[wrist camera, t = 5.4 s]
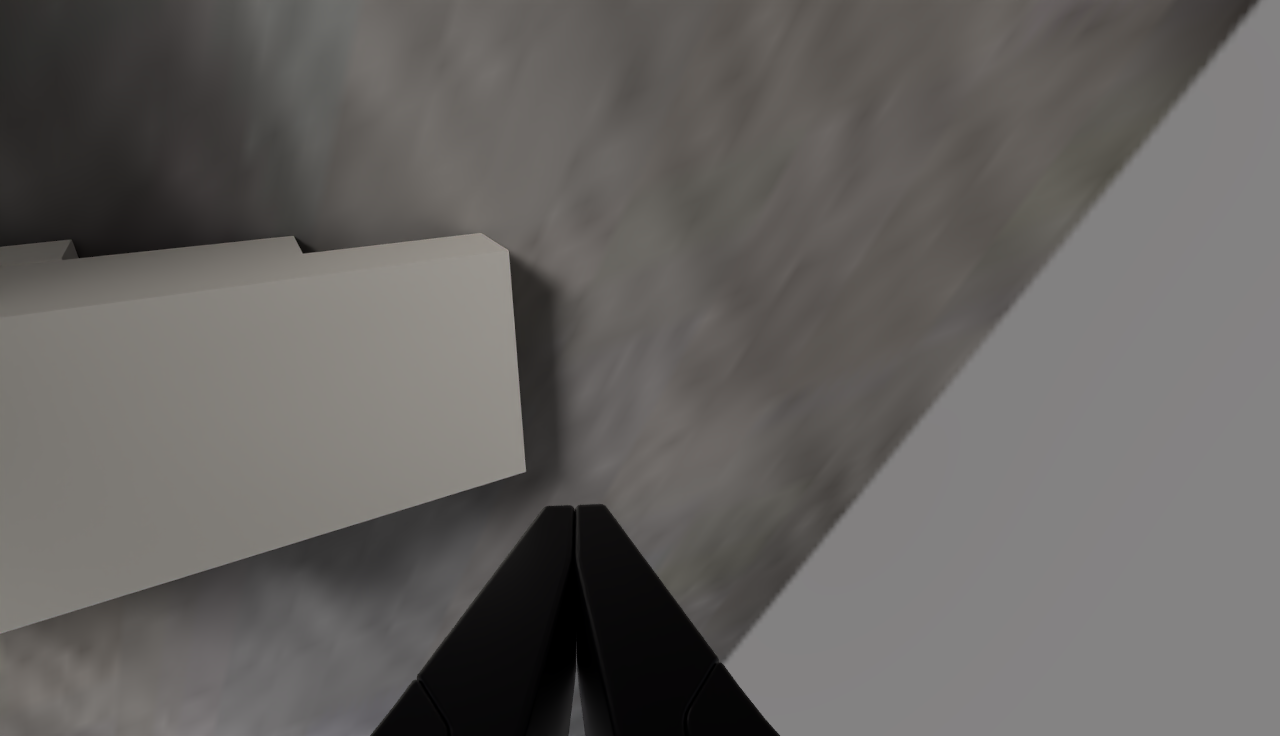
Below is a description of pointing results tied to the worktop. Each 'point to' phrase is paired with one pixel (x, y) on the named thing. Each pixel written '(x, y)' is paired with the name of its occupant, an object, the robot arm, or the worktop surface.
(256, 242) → the domino
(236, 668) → the worktop surface
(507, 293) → the domino
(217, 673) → the worktop surface
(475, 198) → the worktop surface
